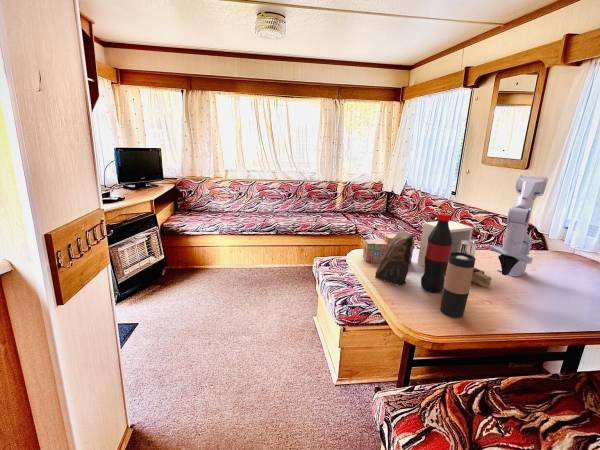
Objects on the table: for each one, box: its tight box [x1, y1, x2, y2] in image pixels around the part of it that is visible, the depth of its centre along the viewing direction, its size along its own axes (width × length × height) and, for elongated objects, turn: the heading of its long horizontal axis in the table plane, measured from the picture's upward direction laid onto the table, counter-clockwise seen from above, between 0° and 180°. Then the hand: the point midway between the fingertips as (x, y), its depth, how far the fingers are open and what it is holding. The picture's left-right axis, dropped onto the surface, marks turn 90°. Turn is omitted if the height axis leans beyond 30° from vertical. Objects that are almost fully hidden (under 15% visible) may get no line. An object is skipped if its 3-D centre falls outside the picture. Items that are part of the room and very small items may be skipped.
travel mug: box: [439, 252, 476, 319], centre depth 104 cm, size 8×8×20 cm
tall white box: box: [417, 220, 474, 268], centre depth 144 cm, size 16×12×20 cm
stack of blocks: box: [362, 233, 415, 265], centre depth 149 cm, size 21×6×12 cm, turn 92°
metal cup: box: [456, 240, 477, 257], centre depth 135 cm, size 7×7×15 cm
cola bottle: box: [420, 212, 453, 294], centre depth 119 cm, size 8×8×30 cm
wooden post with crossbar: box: [444, 267, 492, 288], centre depth 134 cm, size 12×18×4 cm, turn 25°
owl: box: [374, 228, 415, 286], centre depth 128 cm, size 13×13×20 cm
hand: (505, 274), depth 120 cm, fingers closed
